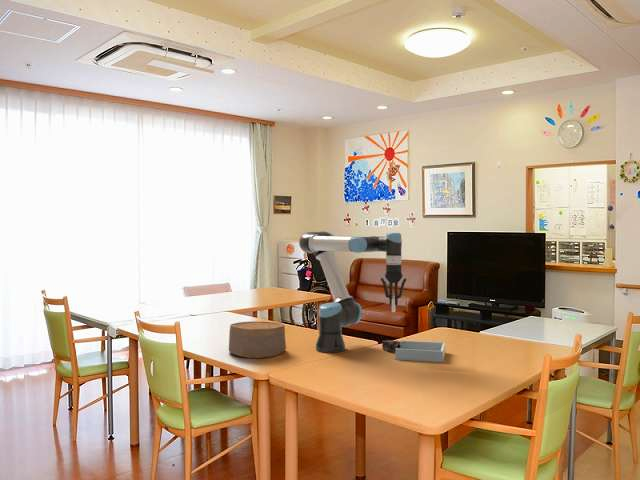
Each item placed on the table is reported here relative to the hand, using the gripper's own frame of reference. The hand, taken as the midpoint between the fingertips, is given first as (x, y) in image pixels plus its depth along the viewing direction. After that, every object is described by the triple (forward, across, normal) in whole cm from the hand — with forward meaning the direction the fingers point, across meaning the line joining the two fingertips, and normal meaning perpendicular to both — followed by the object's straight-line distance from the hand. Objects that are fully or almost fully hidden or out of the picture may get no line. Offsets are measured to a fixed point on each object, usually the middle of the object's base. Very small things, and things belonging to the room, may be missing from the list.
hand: (393, 311), depth 267 cm
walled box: (+21, +13, 0) cm, 25 cm away
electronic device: (+16, -4, +3) cm, 17 cm away
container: (+22, -67, -14) cm, 72 cm away
